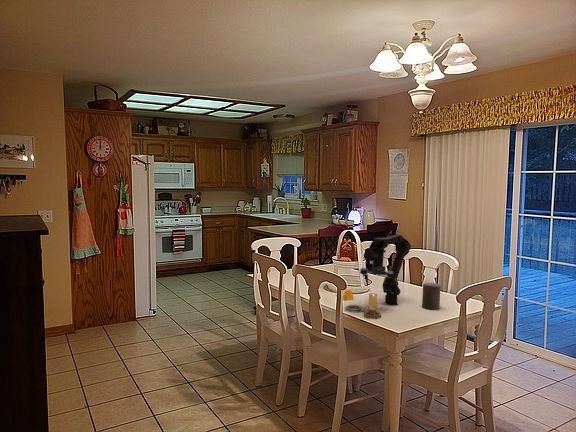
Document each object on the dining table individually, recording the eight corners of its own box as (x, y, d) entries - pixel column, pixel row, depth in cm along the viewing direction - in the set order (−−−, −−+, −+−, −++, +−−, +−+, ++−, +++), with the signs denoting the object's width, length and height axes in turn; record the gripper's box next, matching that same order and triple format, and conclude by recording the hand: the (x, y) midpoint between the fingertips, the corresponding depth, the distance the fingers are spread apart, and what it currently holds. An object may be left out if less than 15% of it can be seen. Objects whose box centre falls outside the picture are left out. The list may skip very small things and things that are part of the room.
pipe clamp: (353, 300, 265) (353, 289, 264) (347, 300, 263) (347, 290, 263) (343, 295, 276) (343, 285, 275) (337, 296, 274) (337, 286, 274)
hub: (362, 307, 248) (362, 305, 248) (363, 312, 239) (363, 310, 239) (345, 306, 250) (345, 304, 250) (344, 311, 240) (344, 309, 240)
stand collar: (380, 314, 237) (380, 311, 236) (381, 319, 228) (381, 316, 228) (364, 313, 238) (364, 310, 238) (364, 318, 229) (364, 315, 229)
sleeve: (376, 315, 235) (377, 293, 234) (376, 317, 230) (377, 295, 229) (368, 314, 235) (368, 293, 235) (368, 317, 231) (368, 295, 230)
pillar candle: (428, 310, 244) (429, 284, 243) (418, 305, 254) (419, 280, 252) (443, 309, 247) (444, 283, 246) (433, 304, 256) (434, 279, 255)
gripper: (360, 259, 240) (358, 287, 240) (395, 263, 235) (392, 291, 236) (361, 258, 250) (359, 284, 251) (394, 261, 246) (392, 288, 246)
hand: (375, 287), depth 246 cm, fingers open, 9 cm apart
